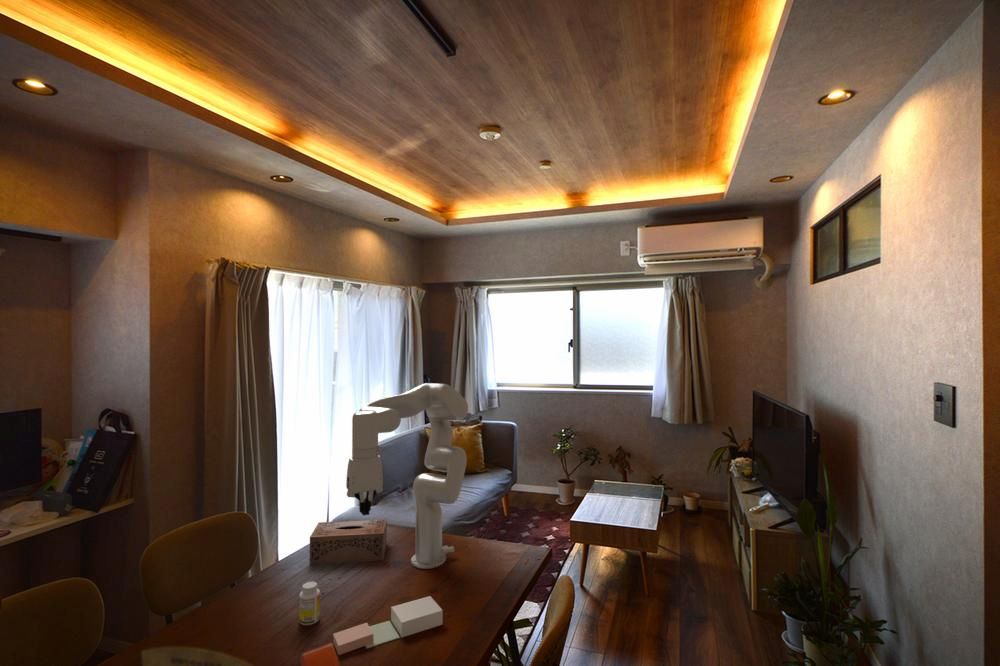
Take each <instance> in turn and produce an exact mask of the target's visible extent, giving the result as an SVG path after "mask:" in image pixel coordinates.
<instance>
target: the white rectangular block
mask: <svg viewBox="0 0 1000 666" xmlns="http://www.w3.org/2000/svg"><path fill="white" fill-rule="evenodd" d="M443 616H444V615H443V609H442V608H441V606H440V605H439V604H438V603H437V602H436V601H435V600H434V598H432V596H431V595H429V596H428V595H427V596H426V597H422V598H419V599H414V600H411V601H408V602H404V603H401V604H397V605H394V606H390V622H391V624H392V625H393V627H394V629H395V630H396V632H397V633H398V635H399V636H400V638H404V637H408V636H411V635H414V634H417V633H420V632H423V631H426V630H429V629H433V628H436V627H440V626H441V625H443Z"/></svg>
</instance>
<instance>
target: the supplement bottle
mask: <svg viewBox="0 0 1000 666" xmlns="http://www.w3.org/2000/svg"><path fill="white" fill-rule="evenodd" d="M301 587H302V588H301V591H300V592H299V597H298V600H299V603H298V604H299V606H298V607H299V611H298V614H299V617H298V618H299V620H298V621H299V623H300V624H301V625H303V626H311V625H314V624H317V623H318V622H319V620H320V618H321V591H320V589H319V588H318V583H317V581H308V582H305V583H304V584H302V586H301Z"/></svg>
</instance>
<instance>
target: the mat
mask: <svg viewBox="0 0 1000 666" xmlns="http://www.w3.org/2000/svg"><path fill="white" fill-rule="evenodd" d="M369 627H370V629H371V630H372V632H373V638H374V643H371V644H369V645H366V646H364V647H365V649H370V648H373V647H376V646H380V645H382V644H385V643H389V642H392V641H394V640H398V639H401V636H400V634H399V633H398V631H397V630H396V628H395V626H394V625H393V623H392V622H391V620H386V621H383V622H379V623H376V624H374V625H373V624H372V625H369Z"/></svg>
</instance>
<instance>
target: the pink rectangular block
mask: <svg viewBox="0 0 1000 666" xmlns="http://www.w3.org/2000/svg"><path fill="white" fill-rule="evenodd" d="M369 626H370V625H369V624H368V622H365V623H362V624H358V625H355V626H352V627H349V628H347V629H343V630H340V631H337V632H334V633H333V634H332V636H333V637H332V638H333V639H332V640H333V645H334V648H335V649H336V652H337V654H338V656H341V655H343V654H346V653H349V652H351V651H352V652H353V651H354V650H357V649H360V648H362V647H365V646H366V645H369V644H371V643H374V638H373V632H372V630H371V629H370V627H369Z"/></svg>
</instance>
